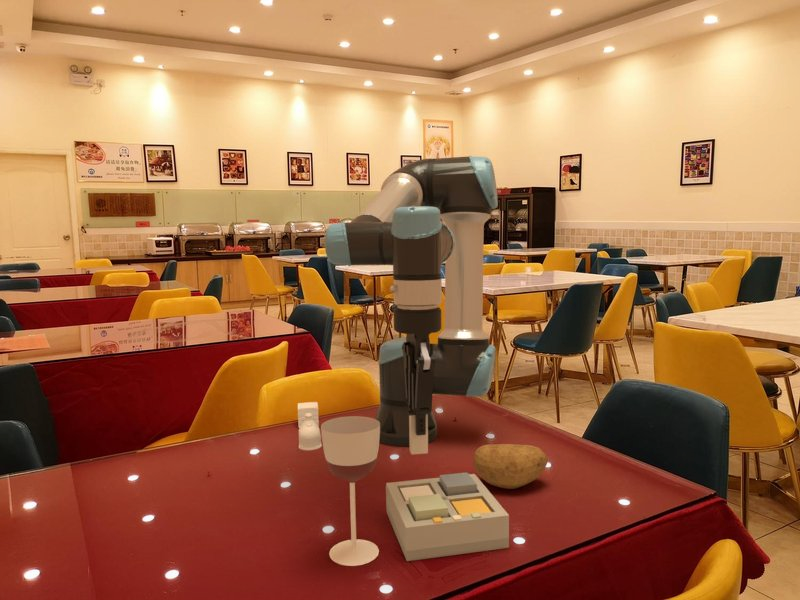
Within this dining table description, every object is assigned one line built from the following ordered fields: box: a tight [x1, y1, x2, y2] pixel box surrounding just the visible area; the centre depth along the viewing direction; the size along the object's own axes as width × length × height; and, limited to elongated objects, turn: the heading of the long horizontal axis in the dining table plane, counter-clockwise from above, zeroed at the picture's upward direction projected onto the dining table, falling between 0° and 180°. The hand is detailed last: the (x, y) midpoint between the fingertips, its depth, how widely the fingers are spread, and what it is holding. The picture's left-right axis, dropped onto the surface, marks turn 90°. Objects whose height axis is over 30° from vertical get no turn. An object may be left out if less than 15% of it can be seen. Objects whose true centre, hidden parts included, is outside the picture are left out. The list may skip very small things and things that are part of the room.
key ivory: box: [400, 485, 433, 501], centre depth 100 cm, size 5×5×3 cm
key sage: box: [409, 494, 448, 521], centre depth 93 cm, size 5×5×3 cm
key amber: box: [451, 498, 491, 516], centre depth 95 cm, size 5×5×3 cm
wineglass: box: [320, 415, 380, 567], centre depth 90 cm, size 8×9×20 cm
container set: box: [297, 401, 323, 451], centre depth 143 cm, size 20×5×6 cm, turn 10°
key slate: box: [438, 471, 477, 496], centre depth 101 cm, size 5×5×3 cm
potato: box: [473, 443, 549, 490], centre depth 114 cm, size 10×14×8 cm
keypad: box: [385, 473, 510, 562], centre depth 98 cm, size 16×16×6 cm
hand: (418, 452), depth 97 cm, fingers closed
